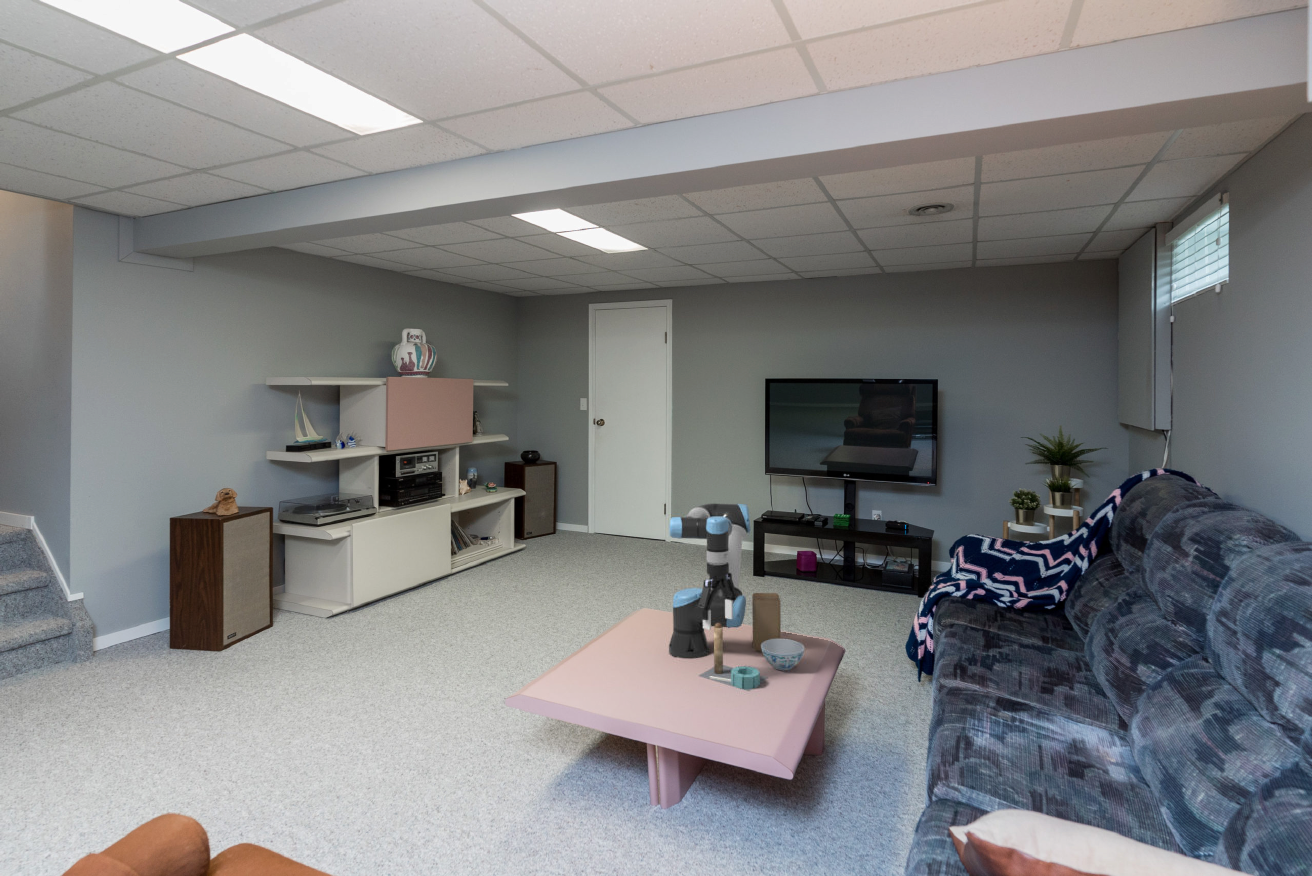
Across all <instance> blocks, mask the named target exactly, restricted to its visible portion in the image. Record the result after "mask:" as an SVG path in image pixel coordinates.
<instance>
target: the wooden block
mask: <svg viewBox="0 0 1312 876" xmlns="http://www.w3.org/2000/svg"><path fill="white" fill-rule="evenodd" d="M751 596H752V598H751V599H752V608H751V609H752V648H753V651H754V652H761V653H763V652H762V649H761V644H762V643H763V642H764V641H767V640H770V639H782V638H781V637H782V636H781V635H782V634H781V633H782V631H781V628H782V627H781V620H782V619H781V615H782V614H781V605H782V604H781V600H780V595H779V593H777V592H753V594H752V595H751Z"/></svg>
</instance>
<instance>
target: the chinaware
mask: <svg viewBox="0 0 1312 876" xmlns="http://www.w3.org/2000/svg"><path fill="white" fill-rule="evenodd" d="M761 649H762V652H761V653H762V655H763V657H764V658H765V660H766V661H767V663H769V664H770V665H771V666H772V668H774V669H775V670H779V671H790V670H792V669H793V668H794V667H795V666H797V664H798V663H799V662H800V661H801V660H802V658H803V656H804V652H805V645H804V644H803V643H801V642H799V641H796V640H793V639H789V638H781V639H770V640H767V641H764V642H763V643H762V644H761Z"/></svg>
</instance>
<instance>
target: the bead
mask: <svg viewBox="0 0 1312 876" xmlns="http://www.w3.org/2000/svg"><path fill="white" fill-rule="evenodd" d="M732 668H733V669H732V670H731V683H732V685H733V686H734V688H736V687H737V688H736V689H741V690H743V688H744V689H751V690H753V689H756V688H758V687H759V686H760V684H761V683H760V674H761V672H760V671H759V668H756V667H752V666H750V665H749V666H747V665H744V666H743V665H741V666H740V665H739V666H734V667H732ZM733 686H732V687H733Z"/></svg>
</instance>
